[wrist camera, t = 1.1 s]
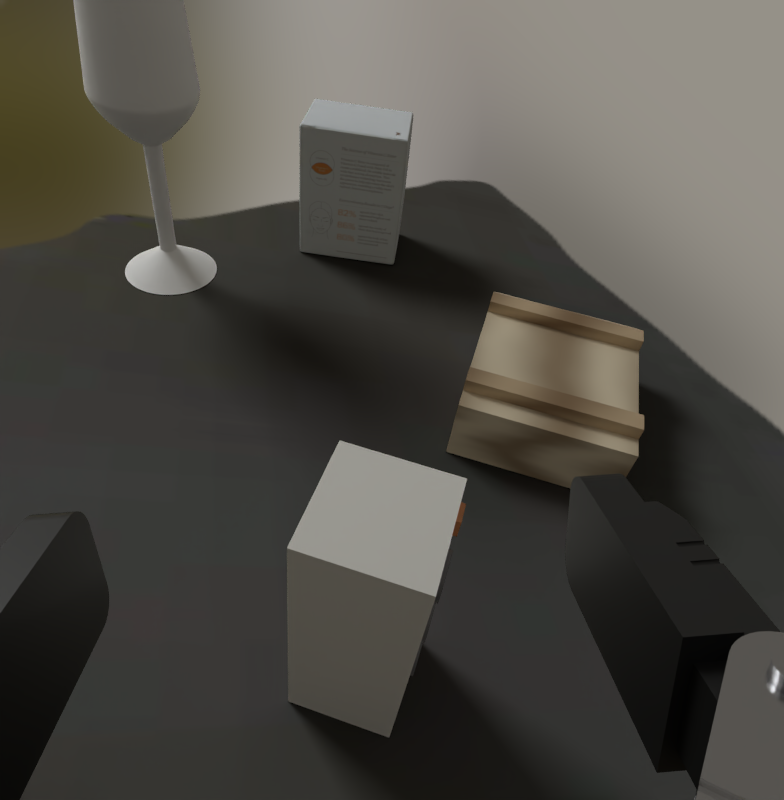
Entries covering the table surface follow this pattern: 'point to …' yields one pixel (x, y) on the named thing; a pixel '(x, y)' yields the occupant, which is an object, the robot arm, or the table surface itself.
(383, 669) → the tall grey box
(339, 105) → the small box
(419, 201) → the table surface
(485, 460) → the brown wooden ridged block
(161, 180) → the champagne flute
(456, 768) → the table surface
